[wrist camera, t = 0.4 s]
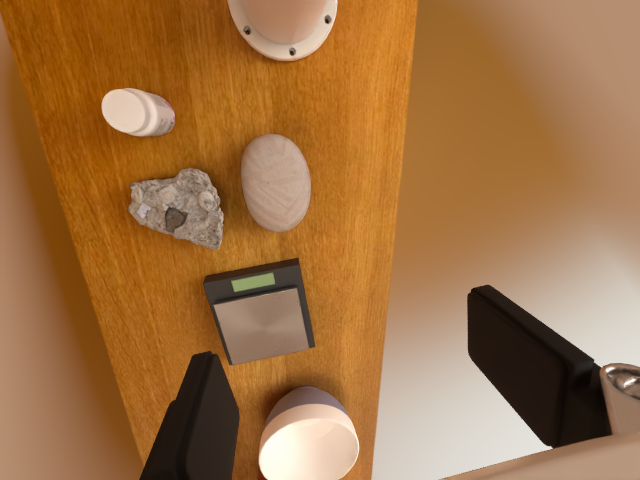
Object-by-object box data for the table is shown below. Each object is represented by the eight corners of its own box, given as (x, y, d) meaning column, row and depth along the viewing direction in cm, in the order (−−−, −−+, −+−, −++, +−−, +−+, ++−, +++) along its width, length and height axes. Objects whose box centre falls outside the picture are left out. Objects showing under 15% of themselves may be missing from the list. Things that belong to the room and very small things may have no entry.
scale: (206, 275, 45) (202, 284, 43) (298, 257, 46) (299, 265, 44) (231, 354, 50) (229, 366, 48) (313, 337, 51) (315, 348, 49)
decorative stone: (309, 225, 45) (312, 235, 40) (247, 227, 44) (244, 238, 39) (308, 133, 41) (312, 133, 36) (239, 133, 39) (234, 133, 35)
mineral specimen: (223, 244, 45) (133, 234, 41) (231, 170, 42) (134, 155, 39) (220, 258, 39) (115, 249, 36) (228, 175, 36) (115, 157, 33)
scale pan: (214, 302, 43) (213, 305, 43) (296, 285, 44) (296, 288, 44) (233, 362, 47) (232, 365, 46) (308, 345, 48) (309, 349, 47)
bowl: (257, 376, 52) (253, 425, 44) (347, 366, 54) (361, 411, 45) (264, 441, 58) (262, 498, 49) (346, 430, 60) (358, 482, 51)
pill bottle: (129, 97, 36) (88, 87, 29) (169, 92, 37) (139, 80, 29) (142, 138, 38) (107, 140, 30) (181, 133, 38) (156, 132, 31)
